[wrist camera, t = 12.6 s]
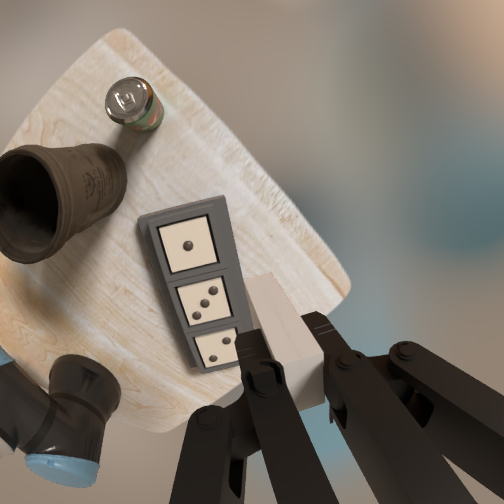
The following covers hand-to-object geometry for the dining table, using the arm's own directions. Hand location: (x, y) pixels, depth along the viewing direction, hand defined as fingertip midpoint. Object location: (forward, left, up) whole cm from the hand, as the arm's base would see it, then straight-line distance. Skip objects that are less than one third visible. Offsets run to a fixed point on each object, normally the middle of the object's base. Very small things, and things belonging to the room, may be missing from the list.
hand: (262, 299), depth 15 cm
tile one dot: (-5, -3, -24) cm, 25 cm away
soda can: (-7, +15, -27) cm, 31 cm away
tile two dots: (-5, -20, -24) cm, 32 cm away
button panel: (-5, -11, -27) cm, 29 cm away
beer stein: (-19, +8, -27) cm, 34 cm away
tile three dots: (-5, -11, -24) cm, 27 cm away
